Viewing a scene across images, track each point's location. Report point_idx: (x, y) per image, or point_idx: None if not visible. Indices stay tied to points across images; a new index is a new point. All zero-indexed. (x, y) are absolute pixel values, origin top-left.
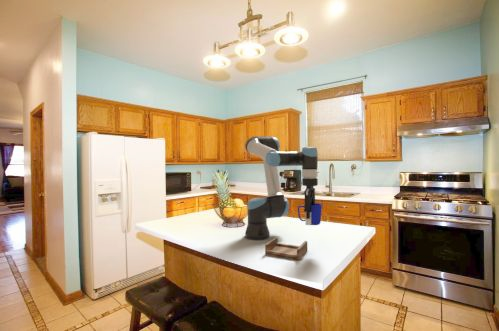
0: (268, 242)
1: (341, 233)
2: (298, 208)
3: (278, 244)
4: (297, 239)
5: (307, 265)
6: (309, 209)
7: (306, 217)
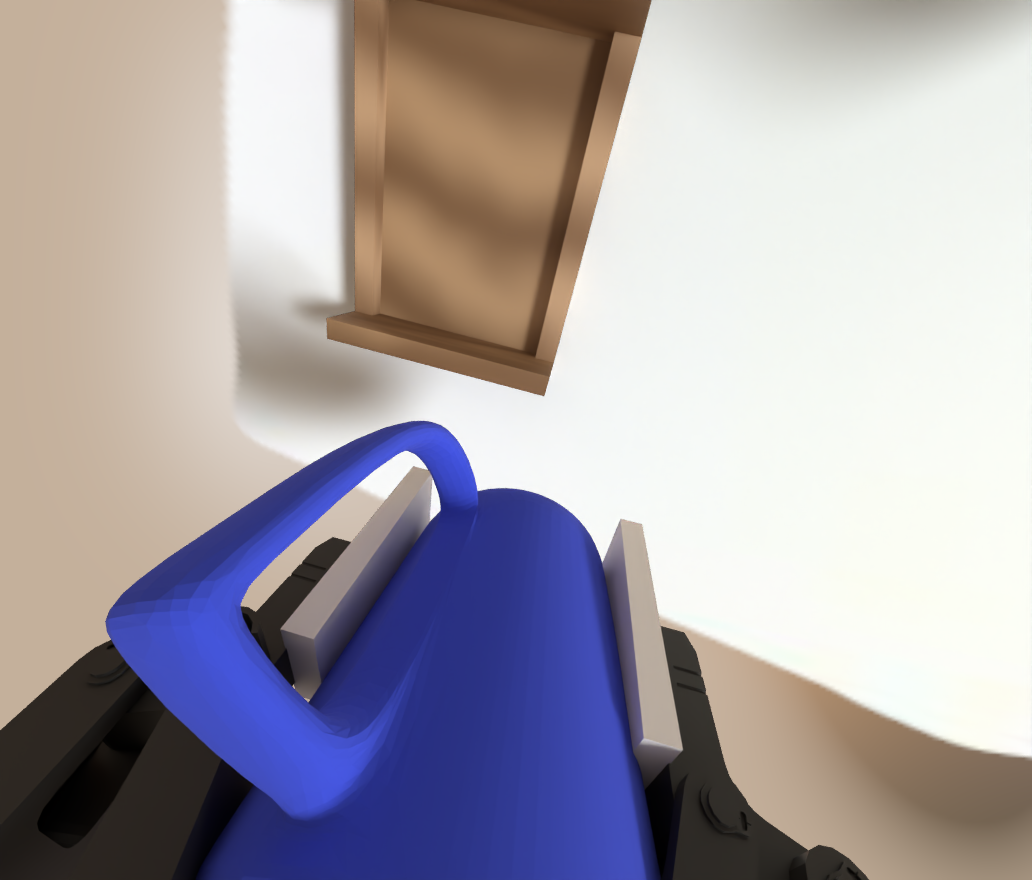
0: None
1: (1007, 628)
2: (178, 558)
3: (606, 64)
4: (901, 268)
5: (320, 371)
6: (113, 745)
7: (313, 550)
